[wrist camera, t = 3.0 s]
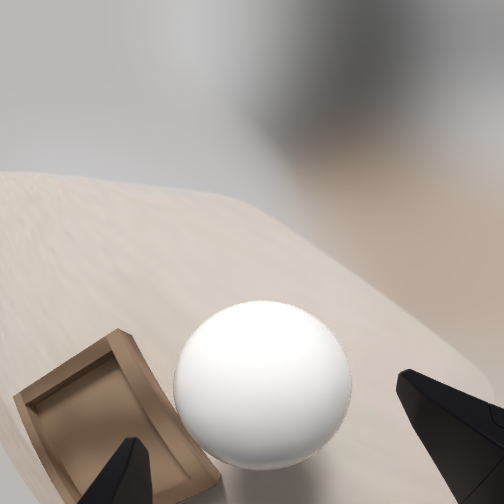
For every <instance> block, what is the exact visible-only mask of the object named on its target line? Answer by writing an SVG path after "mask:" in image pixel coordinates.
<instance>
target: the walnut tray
mask: <svg viewBox="0 0 504 504" xmlns="http://www.w3.org/2000/svg"><path fill="white" fill-rule="evenodd" d="M13 398H14V401H15V404H16V407H17V409H18V412H19V414H20V417H21V419H22V422H23V424H24V427H25V429H26V431H27V434H28V436H29V438H30V440H31V442H32V445H33V447H34V449H35V451H36V453H37V455H38V457H39V459H40V461H41V463H42V465H43V466H44V468H45V470H46V472H47V474H48V476H49V477H50V479H51V481H52V483H53V484H54V486H55V488H56V489H57V491H58V493H59V494H60V496H61V497H62V499H63V501H64V502H65V504H77V502H78V501H79V500H80V498H81V497H82V496H83V494H84V493H85V492H86V490H87V489H88V488H89V486H90V485H91V484H92V482H93V481H94V480H95V478H96V477H97V476H98V474H99V473H100V471H101V470H102V469H103V467H104V466H105V465H106V463H107V462H108V461H109V459H110V458H111V457H112V455H113V454H114V453H115V451H116V450H117V448H118V447H119V446H120V444H121V443H122V442H123V440H124V439H125V438H126V437H138V438H139V439H140V440H141V442H142V443H143V444H144V446H145V447H146V448H147V450H148V452H149V459H150V470H151V480H152V490H153V504H176V503H178V502H180V501H183V500H185V499H187V498H190V497H192V496H194V495H196V494H199V493H201V492H203V491H205V490H207V489H209V488H211V487H213V486H215V485H217V483H218V481H219V479H220V477H221V474H220V473H219V471H218V470H217V469H216V467H215V466H214V465H213V464H212V462H211V461H210V460H209V458H208V457H207V456H206V454H205V453H204V452H203V450H202V449H201V448H200V446H199V445H198V444H197V443H196V442H195V441H194V440H193V439H192V438H191V436H190V435H189V434H188V432H187V431H186V429H185V427H184V426H183V424H182V422H181V420H180V418H179V416H178V414H177V413H176V411H175V410H174V408H173V406H172V405H171V403H170V402H169V400H168V399H167V397H166V395H165V394H164V392H163V390H162V389H161V387H160V385H159V384H158V382H157V380H156V379H155V377H154V375H153V373H152V372H151V370H150V368H149V366H148V365H147V363H146V361H145V359H144V358H143V356H142V354H141V352H140V350H139V348H138V346H137V345H136V343H135V341H134V339H133V337H132V335H130V334H128V333H126V332H124V331H122V330H120V329H118V328H117V329H116V330H114V331H113V332H111V333H110V334H108V335H106V336H105V337H103V338H102V339H100V340H99V341H97V342H96V343H94V344H93V345H91V346H89V347H88V348H86V349H85V350H83V351H82V352H80V353H79V354H77V355H76V356H74V357H73V358H71V359H69V360H68V361H66V362H65V363H63V364H62V365H60V366H59V367H57V368H56V369H54V370H53V371H51V372H50V373H48V374H47V375H45V376H43V377H42V378H40V379H39V380H37V381H36V382H34V383H33V384H31V385H30V386H28V387H27V388H25V389H24V390H22V391H21V392H19V393H18V394H16V395H15V396H13Z"/></svg>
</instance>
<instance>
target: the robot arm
mask: <svg viewBox="0 0 504 504" xmlns="http://www.w3.org/2000/svg"><path fill="white" fill-rule="evenodd" d="M396 392H397V395H398V397H399V399H400V401H401V403H402V405H403V408H404V410H405V412H406V414H407V416H408V418H409V421H410V423H411V425H412V427H413V428H414V430H415V432H416V433H417V435H418V437H419V438H420V440H421V441H422V443H423V445H424V446H425V448H426V450H427V451H428V453H429V455H430V456H431V458H432V460H433V461H434V463H435V465H436V466H437V468H438V470H439V471H440V473H441V475H442V476H443V478H444V480H445V481H446V483H447V485H448V487H449V488H450V490H451V492H452V494H453V495H454V497H455V499H456V501H457V502H458V504H504V409H503V408H501V407H498V406H495V405H493V404H490V403H489V404H488V402H485V401H483V400H481V399H478V398H476V397H473V396H471V395H469V394H466V393H464V392H462V391H459V390H457V389H455V388H452V387H450V386H448V385H445V384H443V383H441V382H439V381H436V380H434V379H432V378H430V377H427V376H425V375H423V374H421V373H418V372H416V371H414V370H412V369H407V370H404V371H402V372H400V373H399V374H398V380H397V386H396ZM77 504H153V490H152V480H151V470H150V459H149V452H148V450H147V448H146V447H145V446H144V444H143V443H142V442H141V440H140V439H139V438H138V437H126V438H125V439H124V440H123V442H122V443H121V444H120V446H119V447H118V448H117V450H116V451H115V453H114V454H113V455H112V457H111V458H110V459H109V461H108V462H107V463H106V465H105V466H104V467H103V469H102V470H101V471H100V473H99V474H98V476H97V477H96V478H95V480H94V481H93V482H92V484H91V485H90V486H89V488H88V489H87V490H86V492H85V493H84V494H83V496H82V497H81V498H80V500H79V501H78V502H77Z"/></svg>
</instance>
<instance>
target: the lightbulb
mask: <svg viewBox="0 0 504 504" xmlns="http://www.w3.org/2000/svg"><path fill="white" fill-rule="evenodd" d="M351 393H352V376H351V369H350V365H349V361H348V358H347V355H346V353H345V351H344V349H343V347H342V345H341V343H340V341H339V340H338V338H337V337H336V336H335V334H334V333H333V332H332V331H331V330H330V329H329V328H328V327H327V326H326V325H325V324H324V323H323V322H322V321H321V320H319V319H318V318H317V317H315V316H314V315H312V314H311V313H309V312H307V311H305V310H303V309H301V308H299V307H296V306H293V305H290V304H287V303H282V302H277V301H265V300H261V301H249V302H244V303H239V304H236V305H233V306H230V307H228V308H225V309H223V310H221V311H219V312H217V313H216V314H214V315H212V316H211V317H210V318H208V319H207V320H206V321H204V322H203V323H202V324H201V325H200V326H199V327H198V328H197V329H196V330H195V331H194V332H193V333H192V335H191V336H190V337H189V339H188V340H187V342H186V343H185V345H184V347H183V348H182V350H181V353H180V355H179V358H178V360H177V364H176V367H175V372H174V379H173V394H174V401H175V406H176V409H177V412H178V415H179V418H180V420H181V422H182V424H183V426H184V427H185V429H186V431H187V432H188V434H189V435H190V436H191V438H192V439H193V440H194V441H195V442H196V443H197V444H198V445H199V446H200V447H201V448H202V449H203V450H205V451H206V452H207V453H208V454H210V455H211V456H213V457H215V458H216V459H218V460H220V461H222V462H224V463H226V464H229V465H232V466H235V467H238V468H243V469H248V470H258V471H266V470H276V469H282V468H286V467H289V466H293V465H295V464H298V463H300V462H302V461H304V460H306V459H308V458H310V457H311V456H313V455H314V454H316V453H317V452H318V451H320V450H321V449H322V448H323V447H324V446H325V445H326V444H327V443H328V442H329V441H330V440H331V439H332V438H333V437H334V435H335V434H336V433H337V431H338V430H339V428H340V427H341V425H342V423H343V421H344V419H345V417H346V414H347V411H348V408H349V404H350V400H351Z"/></svg>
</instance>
